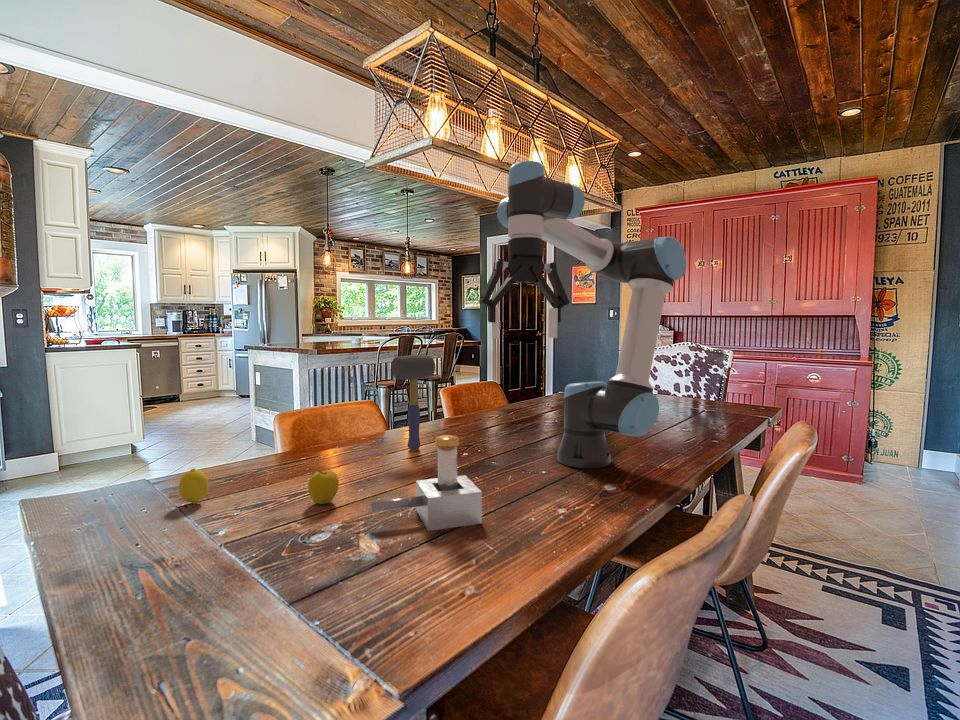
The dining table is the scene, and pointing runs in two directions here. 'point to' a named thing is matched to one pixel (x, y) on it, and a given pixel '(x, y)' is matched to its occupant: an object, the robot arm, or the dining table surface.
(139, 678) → the dining table surface
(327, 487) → the apple
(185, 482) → the lemon
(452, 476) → the grey gold cylinder
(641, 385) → the robot arm
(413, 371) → the rubber mallet
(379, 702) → the dining table surface
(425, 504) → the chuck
